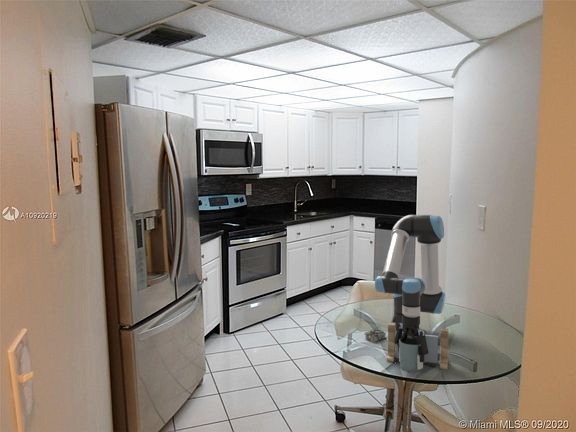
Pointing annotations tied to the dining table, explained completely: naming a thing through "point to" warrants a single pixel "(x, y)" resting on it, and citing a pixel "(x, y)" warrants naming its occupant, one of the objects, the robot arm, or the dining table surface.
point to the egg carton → (374, 335)
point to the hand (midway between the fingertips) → (410, 364)
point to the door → (432, 349)
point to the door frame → (393, 346)
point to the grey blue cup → (408, 354)
